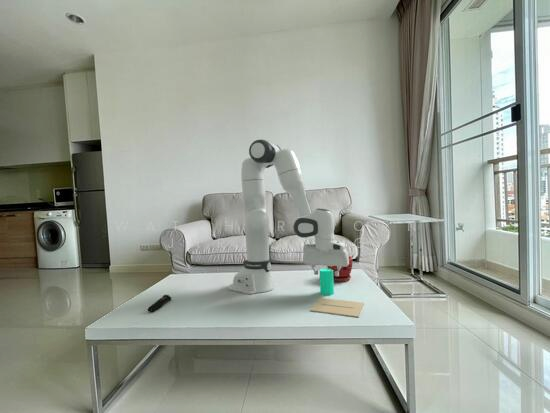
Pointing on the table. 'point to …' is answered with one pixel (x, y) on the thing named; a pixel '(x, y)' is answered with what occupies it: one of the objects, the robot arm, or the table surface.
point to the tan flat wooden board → (338, 307)
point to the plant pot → (342, 272)
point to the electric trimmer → (159, 303)
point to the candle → (326, 282)
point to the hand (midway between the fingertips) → (326, 275)
